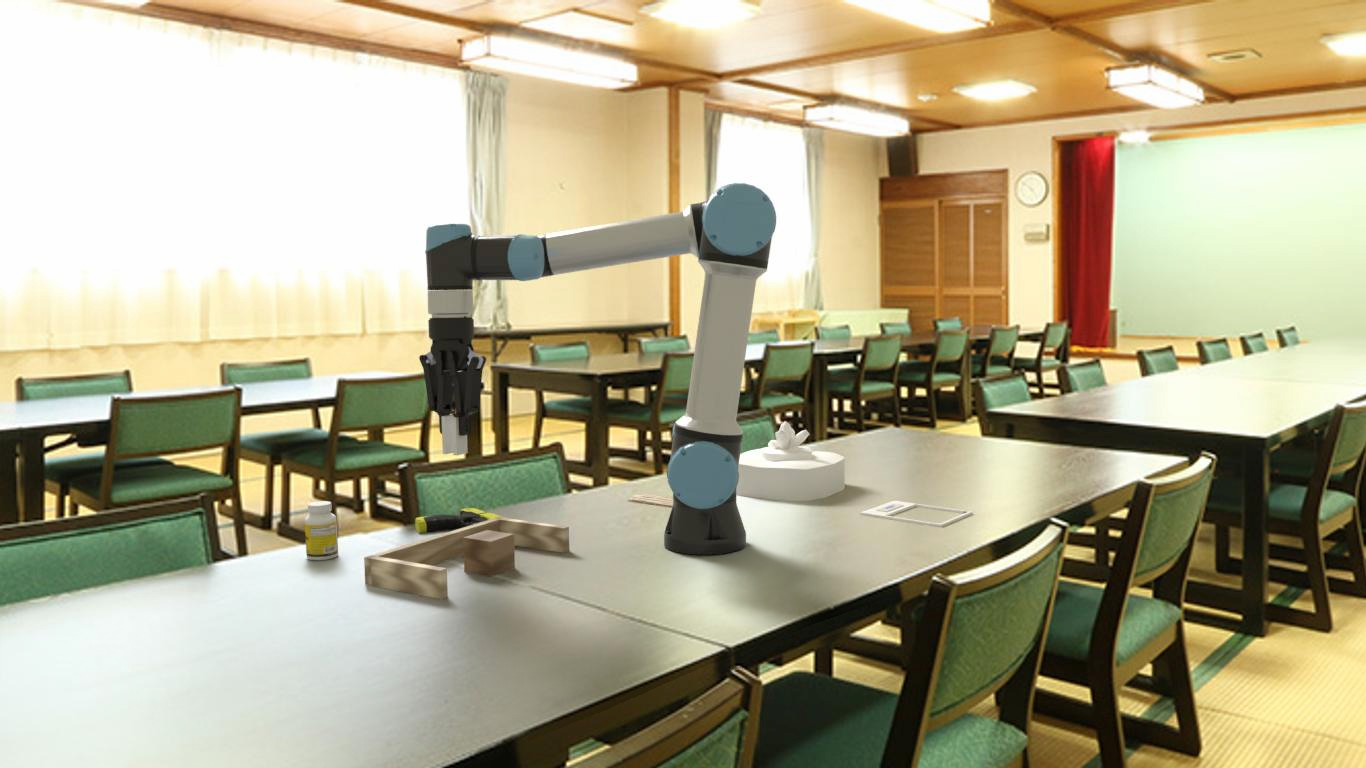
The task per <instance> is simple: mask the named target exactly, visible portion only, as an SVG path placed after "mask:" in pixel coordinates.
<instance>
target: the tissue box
mask: <svg viewBox="0 0 1366 768" xmlns="http://www.w3.org/2000/svg"><path fill="white" fill-rule="evenodd" d="M795 431H796V430H794V428H793V427H792V425H791V424H790V423H789V422H787V421H786V420H784V421H783V423H781V424H780V427H779V430H778V431H775V433H774V435H775V439H771V440H770V441H769V442H768V443H767V446H765V447H761V448H755V449H752V450H751V449H750V450H748V451H745V452H742V453H740V459H739V466H738V472H739V480H738V484H737V487H736V496H742V497H750V498H757V499H767V500H776V501H777V500H778V501H787V502H789V501H790V502H791V501H792V502H793V501H794V502H795V501H796V502H797V501H798V502H801V501H802V502H803V501H813V500H821V499H825V498H828V497H830V496H832V495H834V494H837V493H839V492H842V491H843V490H845V489H846V488H845V487H846V486H845V485H846V484H845V482H846V477H845V474H846V473H845V472H846V471H845V470H846V469H845V468H846V466H845V465H846V464H845V463H846V461H845V460H846V458H845V456H843V455H841V454H838V453H835V452H832V451H831V452H830V451H821V450H820V451H819V450H817V451H816V450H815V451H813V449H811V448H810V447H803V446H800V445H801V444H802V443H804V441H806V439H807V438H808V437H809V436H810V432H809V431H808V430H807V429H804V430H801V431H799V432H797V434H796V432H795Z"/></svg>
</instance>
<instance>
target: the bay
mask: <svg viewBox="0 0 1366 768" xmlns="http://www.w3.org/2000/svg"><path fill="white" fill-rule="evenodd" d="M502 517H503V516H502ZM502 517H497V518H493V519H490V520H487V521H483V522H480V523H477V524H473V525H470V526H467V527H463V528H460V529H452V530H451V531H447V532H444V533H441V534H438V535H434V536H431V537H430V536H429V537H428V538H424V539H421V540H418V541H414V542H410V543H407V544H404V545H401V546H397V547H395V548H394V547H393V548H390V549H387V550H384V551H381V552H377V553H374V554H371V555H367V556H364V557H363V558H364V559H363V560H364V561H363V562H364V564H363V565H364V584H365V585H366V586H371V587H376V588H382V589H387V590H390V591H391V590H392V591H398V592H403V593H406V594H407V593H408V594H414V595H419V596H421V597H423V596H424V597H429V598H434V599H437V600H438V599H439V600H442V599H446V598H448V597H449V596H448V593H449V592H448V591H449V590H448V568H447V567H441V566H436V565H439V564H441V563H444V562H447V561H451V560H453V559H457V558H459V557H461V556H462V557H464V546H463V537H466V536H470V535H473V534H476V533H479V532H483V531H486V530H490V531H497V532H503V533H510V534H514V546H517V547H523V548H530V549H535V550H542V551H550V552H555V553H562V554H566V553H568V552H570V526H566V525H559V524H553V523H552V524H551V523H545V522H537V521H531V520H530V521H529V520H523V519H517V518H516V519H515V518H507V517H504V518H502Z"/></svg>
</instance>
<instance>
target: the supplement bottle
mask: <svg viewBox="0 0 1366 768" xmlns="http://www.w3.org/2000/svg"><path fill="white" fill-rule="evenodd" d="M332 507H333V506H332V502H331V501H330V500H329V501H327V500H321V501H320V500H319V501H318V500H317V501H313V502H310V503H308V504H307V510H308V511H307V512H308V514H309V515H307V516H306V517H305V518H304V531H305V532H304V533H305V536H304V537H305V551H306V552H305V553H306V558H307V559H308V560H309V561H326V560H331V559H335V558H336V557H338V556H339V541H338V538H339V537H338V523H337V517H336V514H334V513H332V512H331V511H332V510H333V508H332Z"/></svg>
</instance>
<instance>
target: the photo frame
mask: <svg viewBox="0 0 1366 768" xmlns="http://www.w3.org/2000/svg"><path fill="white" fill-rule="evenodd" d="M913 508H921V509H922V508H923V509H928V510H929V509H930V510H935V511H936V510H937V511H943V512H948V513H949V512H951V513H957V514H959V515H957V516H954V517H951V518H950V519H947V520H944V521H942V522H939V523H937V522H933V521H923V520H917V519H911V518H904V517H899V516H894V515H897V514H899V513H903V512H904V511H907V510H910V509H913ZM859 513H860V516H866V517H871V518H878V519H885V520H890V521H891V520H892V521H898V522H905V523H911V524H918V525H922V526H923V525H925V526H931V527H936V528H937V527H938V528H943V527H944V526H947V525H949V524H953V523H954V522H957V521H959V520H962V519H964V518H966V517H969V516H972V515H973V511H970V510H963V509H962V510H961V509H957V508H956V509H955V508H949V507H943V506H937V505H936V506H935V505H929V504H927V505H926V504H922V503H920V504H919V503H914V502H907V501H898V500H892V501H890V502H886V503H883V504H880V505H879V506H875V507H873V508H870V509H867V510H864V511H861V512H859Z"/></svg>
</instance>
